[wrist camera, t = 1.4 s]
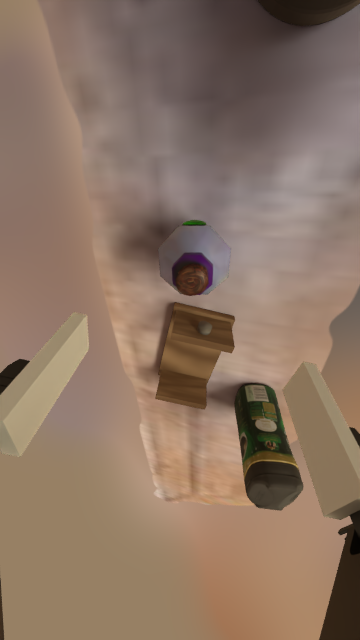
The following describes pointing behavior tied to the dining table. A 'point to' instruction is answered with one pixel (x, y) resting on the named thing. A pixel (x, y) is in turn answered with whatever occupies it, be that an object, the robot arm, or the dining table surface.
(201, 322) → the holder
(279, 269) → the dining table surface
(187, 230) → the potion bottle
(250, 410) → the coffee jar
